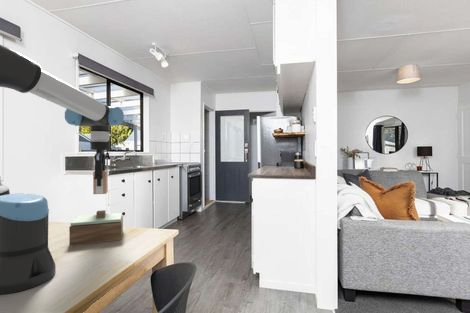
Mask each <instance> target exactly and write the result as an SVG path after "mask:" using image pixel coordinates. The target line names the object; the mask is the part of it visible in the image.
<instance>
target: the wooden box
mask: <svg viewBox="0 0 470 313" xmlns="http://www.w3.org/2000/svg"><path fill="white" fill-rule="evenodd" d="M123 226H124V215H123V214H122V218H121V222H110V223H98V224H86V225H74V226H71V225H70V226H69V230H68V232H69V235H68V236H69V241H68V242H69V246H73V245H74V246H77V245H83V244H84V245H85V244H92V243H94V244H95V243H103V242H104V243H105V242H111V241H112V242H113V241H120V240H121V241H122V238H123V232H124V227H123Z"/></svg>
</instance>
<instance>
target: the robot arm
mask: <svg viewBox="0 0 470 313" xmlns="http://www.w3.org/2000/svg"><path fill="white" fill-rule="evenodd" d="M0 88H5V89H6V88H7V89H11V90H15V91H16V92H19V93H22V94H28V93H29V94H33V95H35V96H37V97H39V98H42V99H45V100H46V101H49V102H51V103H53V104H55V105H58V106H60V107H62V108H65V111H64V120H65V121H66V123H67V124H68V125H72V126H75V127H88V128H90V150H92V151H95V154H94V171H95V178H94V179H96V194H95V195H104V194H103V179H102V178H103V177H102V172H103V171H106V158H107V156H106V155H107V154H105V151H110V148H111V146H110V145H111V144H110V142H109V141H110V137H111V136H112V135H111V133H110V127H115V126H121V125H122V123H124V118H125V114H124V112H123V109H122V108H121V107H119V106H115V105H112V106H109V105H107V104H106V103H103V102H102V101H100V100H98V99H96V98H94V97H92V96H90V95H88V94H87V93H86V92H84V91H82V90H80V89H78V88H76V87H75V86H73V85H71V84H69V83H67V82H65V81H63V79H59V78H58V77H56V76H54V75H52V74H50V73H49V72H47V71H46V70H43V68H42V67H41V65H40V64H39V63H38V62H36V61H35V60H33V59H31V58H29V57H27V56H25V55H24V54H22V53H20V52H18V51H16V50H13V49H11V48H10V47H7V46H5V45H2V44H0ZM49 213H50V209H49V203H48V199H47V198H46V197H45V196H43V195H40V194H35V193H10V188H9V187H8V186H6V185H5V184H3V183H2V177H0V295H4V294H12V293H17V292H22V291H25V290H29V289H31V288H35V287H37V286H40V285H42V284H44V283H46V282H47V281H49V280H50V279H51V278H53V277H54V276H55V275H56V270H57V269H56V266H57V265H56V262H55V260H54V258H53V256H52V252H51V251H50V248H49Z"/></svg>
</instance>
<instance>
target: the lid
mask: <svg viewBox="0 0 470 313" xmlns="http://www.w3.org/2000/svg"><path fill="white" fill-rule="evenodd" d="M122 215H123V212H115V213H113V212H112V213H106V209H104V210H97V211H96V214H88V215H87V214H86V215H77V216H76V217H75V218H74V219H72V221H71V222H70V226H74V225H86V224H98V223H110V222H121V218H122Z"/></svg>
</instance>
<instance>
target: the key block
mask: <svg viewBox="0 0 470 313" xmlns="http://www.w3.org/2000/svg"><path fill="white" fill-rule="evenodd" d="M108 173H109V172H108V170H105V171H103V172H102V177H103V178H102V179H103V194H102V195H105V194H107V193H109V192H108V176H109V175H108ZM92 175H93V176H92V177H93V178H92V180H93V181H92V183H93V185H92V188H93V189H92V190H93V192H92V193H93V194H92V195H97V194H96V179H94V178H95V170H94V171H93V174H92Z"/></svg>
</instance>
